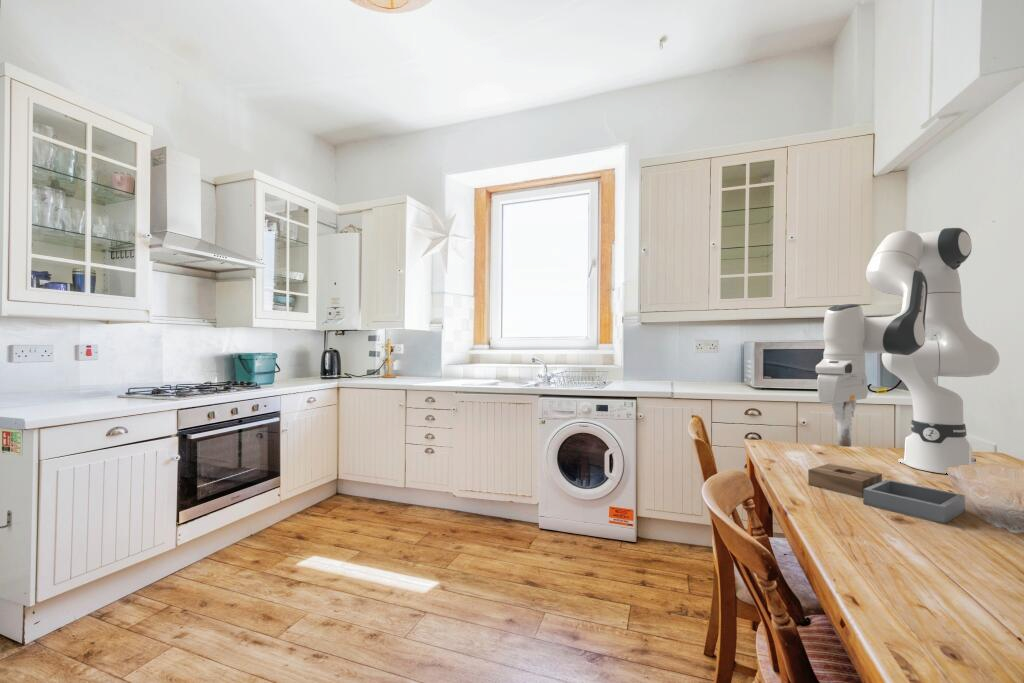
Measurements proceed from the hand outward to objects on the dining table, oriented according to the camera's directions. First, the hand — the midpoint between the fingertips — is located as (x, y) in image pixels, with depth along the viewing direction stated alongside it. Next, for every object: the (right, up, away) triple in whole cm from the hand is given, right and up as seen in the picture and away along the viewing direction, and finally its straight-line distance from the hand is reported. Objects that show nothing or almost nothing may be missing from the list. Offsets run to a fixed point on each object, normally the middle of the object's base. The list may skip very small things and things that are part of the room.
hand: (844, 418), depth 117 cm
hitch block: (0, -18, 0) cm, 18 cm away
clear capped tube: (0, -7, 0) cm, 7 cm away
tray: (+4, -18, -15) cm, 24 cm away
